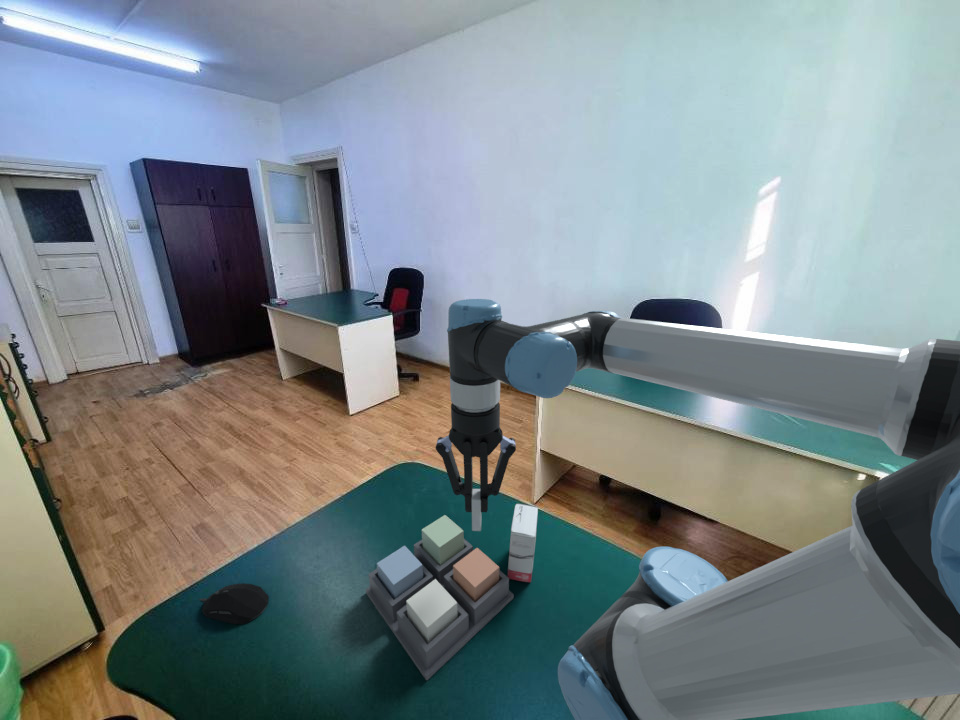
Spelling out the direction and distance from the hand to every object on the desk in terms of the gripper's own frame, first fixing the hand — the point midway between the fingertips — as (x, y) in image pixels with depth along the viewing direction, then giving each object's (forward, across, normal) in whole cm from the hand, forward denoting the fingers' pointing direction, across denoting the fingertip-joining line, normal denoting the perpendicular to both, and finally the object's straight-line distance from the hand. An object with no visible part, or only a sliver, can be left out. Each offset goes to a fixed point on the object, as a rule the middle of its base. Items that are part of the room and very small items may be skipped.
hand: (476, 524), depth 65 cm
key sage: (+13, +7, -7) cm, 17 cm away
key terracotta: (+15, 0, 0) cm, 15 cm away
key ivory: (+15, +7, +7) cm, 18 cm away
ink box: (+18, -9, -8) cm, 21 cm away
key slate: (+15, +14, 0) cm, 20 cm away
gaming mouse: (+18, +46, +3) cm, 50 cm away
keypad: (+17, +7, 0) cm, 19 cm away
